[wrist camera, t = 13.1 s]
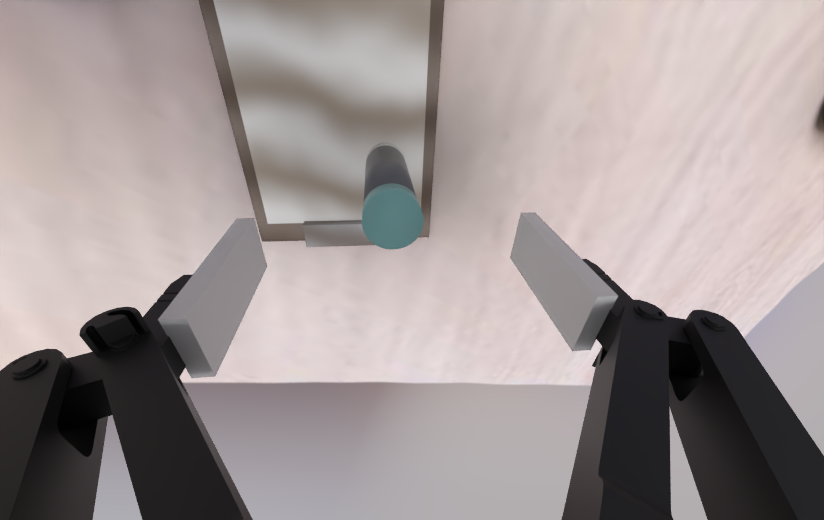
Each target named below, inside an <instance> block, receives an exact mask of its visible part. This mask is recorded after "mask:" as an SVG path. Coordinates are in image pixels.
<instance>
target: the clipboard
mask: <svg viewBox="0 0 824 520" xmlns="http://www.w3.org/2000/svg"><path fill="white" fill-rule="evenodd" d="M199 4H200V8H201V11H202V15H203V19H204V23H205V27H206V30H207V34H208V38H209V42H210V45H211V49H212V53H213V57H214V61H215V64H216V68H217V72H218V76H219V80H220V83H221V87H222V91H223V95H224V99H225V102H226V106H227V110H228V114H229V118H230V121H231V125H232V129H233V133H234V137H235V140H236V144H237V148H238V152H239V156H240V159H241V163H242V167H243V171H244V175H245V178H246V182H247V186H248V190H249V194H250V197H251V201H252V205H253V209H254V212H255V216H256V220H257V224H258V228H259V231H260V235H261V239H262V241H299V240H305V241H306V246H307V247H322V246H357V245H375V244H374V243H372V242H371V241H370V240H369V239H368V238H367V236H366V235H365V233H364V231H363V228H362V209H363V204H364V188H365V169H366V160H367V155H368V153H369V151H370V150H371V149H372V148H373V147H374V146H375V145H377V144H380V143H390V144H393V145H395V146H396V147H397V148H399V150H400V151H401V152H402V155H403V157H404V159H405V162H406V165H407V168H408V172H409V175H410V178H411V181H412V184H413V188H414V191H415V194H416V197H417V199H418V201H419V204H420V207H421V210H422V213H423V218H424V223H423V228H422V231H421V233H420V235H419V236H418V237H429V226H430V210H431V195H432V180H433V164H434V149H435V134H436V118H437V103H438V88H439V72H440V57H441V42H442V27H443V11H444V0H199Z"/></svg>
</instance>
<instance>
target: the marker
mask: <svg viewBox="0 0 824 520" xmlns="http://www.w3.org/2000/svg"><path fill="white" fill-rule="evenodd" d="M423 223H424V218H423V213H422V210H421V207H420V204H419V201H418V199H417V197H416V194H415V191H414V188H413V184H412V181H411V178H410V175H409V172H408V168H407V165H406V162H405V159H404V157H403V155H402V152H401V151H400V150H399V148H397V147H396V146H395V145H393V144H390V143H380V144H377V145H375V146H374V147H373V148H372V149H371V150H370V151H369V153H368V155H367V160H366V169H365V188H364V204H363V209H362V228H363V231H364V233H365V235H366V236H367V238H368V239H369V240H370V241H371V242H372V243H374V244H375V245H377V246H379V247H381V248H385V249H399V248H403V247H405V246H408V245H409V244H411V243H412V242H414V241H415V240H416V239H417V238H418V236H419V235H420V233H421V231H422V228H423Z"/></svg>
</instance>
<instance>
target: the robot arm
mask: <svg viewBox="0 0 824 520" xmlns="http://www.w3.org/2000/svg"><path fill="white" fill-rule="evenodd" d="M510 258H511V260H512V261H513V263H514V264H515V266H516V267H517V269H518V270H519V272H520V273H521V275H522V276H523V278H524V279H525V281H526V282H527V284H528V285H529V287H530V288H531V290H532V291H533V293H534V294H535V296H536V297H537V299H538V300H539V302H540V303H541V305H542V306H543V308H544V309H545V311H546V312H547V314H548V315H549V317H550V318H551V320H552V321H553V323H554V324H555V326H556V327H557V329H558V330H559V332H560V333H561V335H562V336H563V338H564V339H565V341H566V342H567V344H568V345H569V347H570V348H571V350H572V351H580V350H591V348H592V346H593V344H594V342H595V340H596V339H597V340H598V341H599V343H600V344H601V345H602V348H601V350H600V352H599V354H598V356H597V357H596V359H595V361H594V363H593V365H592V366H594V367H596V368H595V373H594V377H593V382H592V386H591V391H590V395H589V400H588V404H587V409H586V414H585V418H584V422H583V427H582V432H581V436H580V440H579V445H578V450H577V454H576V458H575V463H574V468H573V472H572V476H571V481H570V485H569V490H568V494H567V499H566V503H565V508H564V512H563V516H562V520H673V518H672V515H671V492H670V419H669V406H670V409H671V412H672V415H673V418H674V421H675V424H676V427H677V430H678V433H679V436H680V439H681V441H682V445H683V448H684V451H685V454H686V457H687V459H688V463H689V465H690V468H691V471H692V474H693V477H694V480H695V483H696V486H697V489H698V492H699V495H700V498H701V501H702V504H703V507H704V510H705V513H706V516H707V519H708V520H824V456H823V454H822V453H821V451H820V450H819V448H818V447H817V446H816V444H815V442H814V441H813V440H812V438H811V437H810V435H809V434H808V432H807V431H806V429H805V428H804V426H803V425H802V423H801V422H800V420H799V419H798V418H797V416H796V414H795V413H794V412H793V410H792V409H791V407H790V406H789V404H788V403H787V401H786V400H785V398H784V397H783V395H782V394H781V392H780V391H779V389H778V388H777V386H775V384H774V382H773V381H772V379H771V378H770V376H769V375H768V373H767V372H766V370H765V369H764V367H763V366H762V364H761V363H760V362H759V360H758V358H757V357H756V355H755V354H754V353H753V351H752V350H751V348H750V347H749V346H748V344H747V342H746V341H745V339H744V338H743V336H742V335H741V333H740V332H739V330H738V329H737V328H736V327H735V326H734V325H733V324H732V323H731V322H730V321H728V320H727V319H725V318H724V317H723V316H721V315H718V314H716V313H712V312H709V311H705V310H694V311H692V312H691V313H690V314H689V316H688V317H687V319H686V320H685V319H679V318H673V317H668V316H667V315H666V314H665V313H664V312H663V311H662V310H661V309H659V308H658V307H656V306H655V305H653V304H650V303H648V302H645V301H641V300H633V299H632V298H631V297H630V296H629V295H628V294H627V293H625V292H624V291H623V290H622V289H621V288H620V287H619V286H618V285H617V284H616V283H615V282H614V281H612V280H611V278H610V277H609V276H608V275H607V274H605V272H604V271H603V270H602V269H600V268H599V267H598V266H597V265H596V264H594V263H592V262H590V261H589V260H587V259H581V258H580V257H579V256H578V255H577V254H576V253H575V252H574V251H573V250H572V249H571V248H570V247H569V246H568V245H567V244H566V243H565V242H564V241H563V240H562V239H561V238H560V237H559V236H558V235H557V234H556V233H555V232H554V231H553V230H552V229H551V228H550V227H549V226H548V225H547V224H546V223H545V222H544V221H543V220H542V219H541V218H540V217H539V216H538V215H537V214H536V213H521V215H520V219H519V223H518V227H517V231H516V235H515V240H514V244H513V248H512V252H511V256H510ZM266 268H267V264H266V260H265V257H264V253H263V249H262V246H261V242H260V238H259V235H258V231H257V227H256V224H255V220H254V218H244V219H236V220H235V222H234V223H233V224H232V225H231V227H230V228H229V229H228V231H227V232H226V233H225V234H224V236H223V237H222V238H221V240H220V241H219V242H218V243H217V245H216V246H215V247H214V249H213V250H212V251H211V252H210V254H209V255H208V256H207V257H206V259H205V260H204V261H203V263H202V264H201V265H200V266H199V268H198V269H197V270H196V272H195V273H194V274H193V275H183V276H182V277H180V278H179V279H177V280H176V281H174V282H173V283H171V285H170V286H169V287H168V288H167V289H166V290H165V292H164V294H163V295H161V296H160V298H159V299H158V300H157V302H155V303H154V305H153V306H152V307H151V308H150V309H149V311H148V312H147V313H146V314H145V315H144V317H142V316H141V314H140V312H139V311H138V310H137V309H135V308H132V307H121V308H115V309H112V310H109V311H106V312H103V313H101V314H99V315H97V316H95V317H94V318H92V319H91V320H89V321H88V322H86V324H85V325H84V326H83V327H82V328H81V330H80V336H81V338H82V339H83V340H84V341H85V343H86V344H87V345H88V346H89V348H90V349H91V350H92V351H93V352H90V353H87V354H83V355H79V356H75V357H71V358H66V357H65V356H64V355H63V353H62V352H60V351H59V350H57V349H45V350H40V351H36V352H33V353H30V354H28V355H25V356H22V357H20V358H19V359H16V360H15V361H13V362H11V363H10V364H9V365H7V366H6V367H5V368H3V369H2V370H1V371H0V520H92V519H93V512H94V506H95V499H96V492H97V485H98V479H99V473H100V466H101V459H102V452H103V446H104V439H105V433H106V426H107V420H108V416H110V415H113V418H114V422H115V425H116V429H117V432H118V435H119V439H120V442H121V446H122V450H123V453H124V457H125V460H126V464H127V467H128V471H129V474H130V478H131V481H132V485H133V488H134V492H135V495H136V499H137V502H138V505H139V509H140V513H141V516H142V519H143V520H253V519H252V517H251V516H250V514H249V512H248V510H247V508H246V506H245V504H244V502H243V500H242V498H241V496H240V494H239V492H238V490H237V488H236V486H235V484H234V482H233V480H232V478H231V476H230V475H229V473H228V471H227V469H226V467H225V465H224V463H223V461H222V459H221V457H220V455H219V453H218V451H217V449H216V447H215V445H214V443H213V441H212V439H211V438H210V436H209V434H208V432H207V430H206V428H205V426H204V424H203V422H202V420H201V418H200V416H199V414H198V412H197V410H196V408H195V406H194V404H193V402H192V400H191V398H190V397H189V395H188V393H187V391H186V389H185V387H184V385H183V383H182V381H181V380H180V378H179V377H180V375H181V374H182V372H183V370H184V368H185V367H186V369H187V371H188V373H189V374H190V376H191V378H199V377H213V376H216V374H217V372H218V369H219V367H220V365H221V363H222V361H223V359H224V357H225V355H226V353H227V350H228V348H229V346H230V344H231V342H232V340H233V338H234V336H235V333H236V331H237V329H238V327H239V325H240V323H241V321H242V319H243V317H244V314H245V312H246V310H247V308H248V306H249V304H250V302H251V300H252V297H253V295H254V293H255V291H256V289H257V287H258V285H259V283H260V281H261V278H262V276H263V274H264V272H265V270H266Z"/></svg>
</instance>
